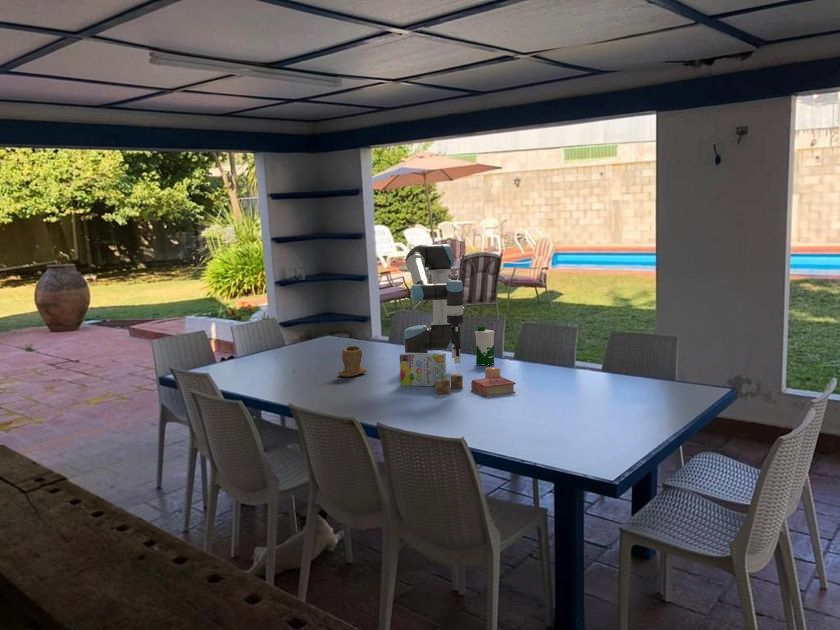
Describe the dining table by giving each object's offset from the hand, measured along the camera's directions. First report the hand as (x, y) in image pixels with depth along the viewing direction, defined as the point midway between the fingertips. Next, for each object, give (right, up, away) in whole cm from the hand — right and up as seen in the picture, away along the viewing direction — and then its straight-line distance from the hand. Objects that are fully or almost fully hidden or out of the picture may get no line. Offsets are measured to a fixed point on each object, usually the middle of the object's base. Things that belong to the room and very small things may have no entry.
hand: (456, 360), depth 331 cm
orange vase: (-50, -10, +36) cm, 62 cm away
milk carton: (+18, -6, +55) cm, 58 cm away
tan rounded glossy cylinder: (+17, -12, +4) cm, 21 cm away
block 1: (-6, -14, -8) cm, 18 cm away
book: (+16, -14, -8) cm, 23 cm away
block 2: (0, -13, +2) cm, 13 cm away
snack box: (-15, -12, +9) cm, 21 cm away
